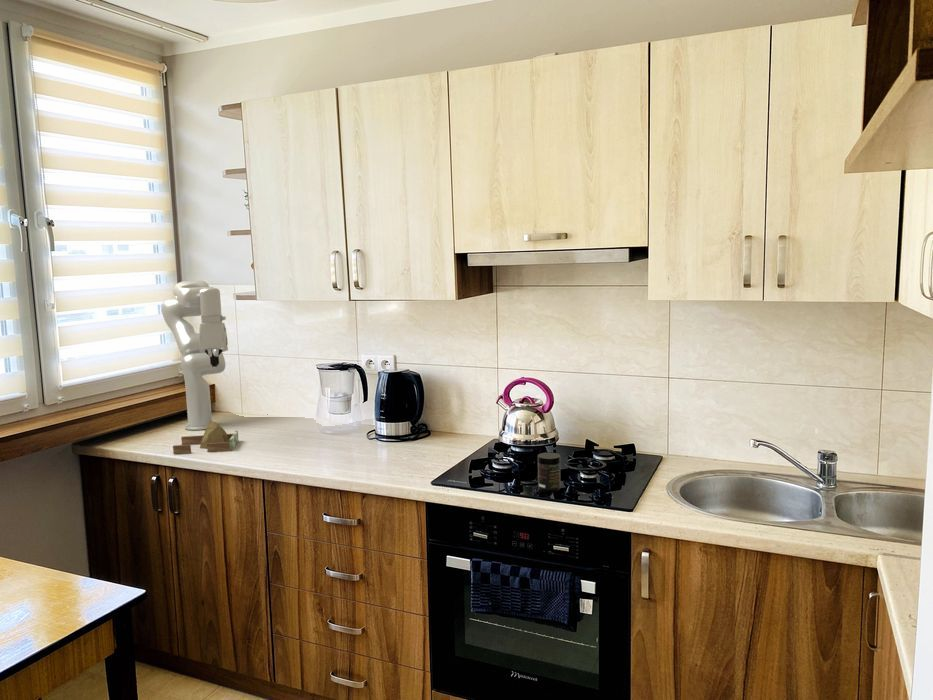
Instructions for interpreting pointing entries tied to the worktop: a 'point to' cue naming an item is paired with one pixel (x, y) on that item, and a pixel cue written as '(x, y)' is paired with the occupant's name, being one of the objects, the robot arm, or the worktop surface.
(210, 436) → the rock
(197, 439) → the box
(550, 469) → the supplement container
